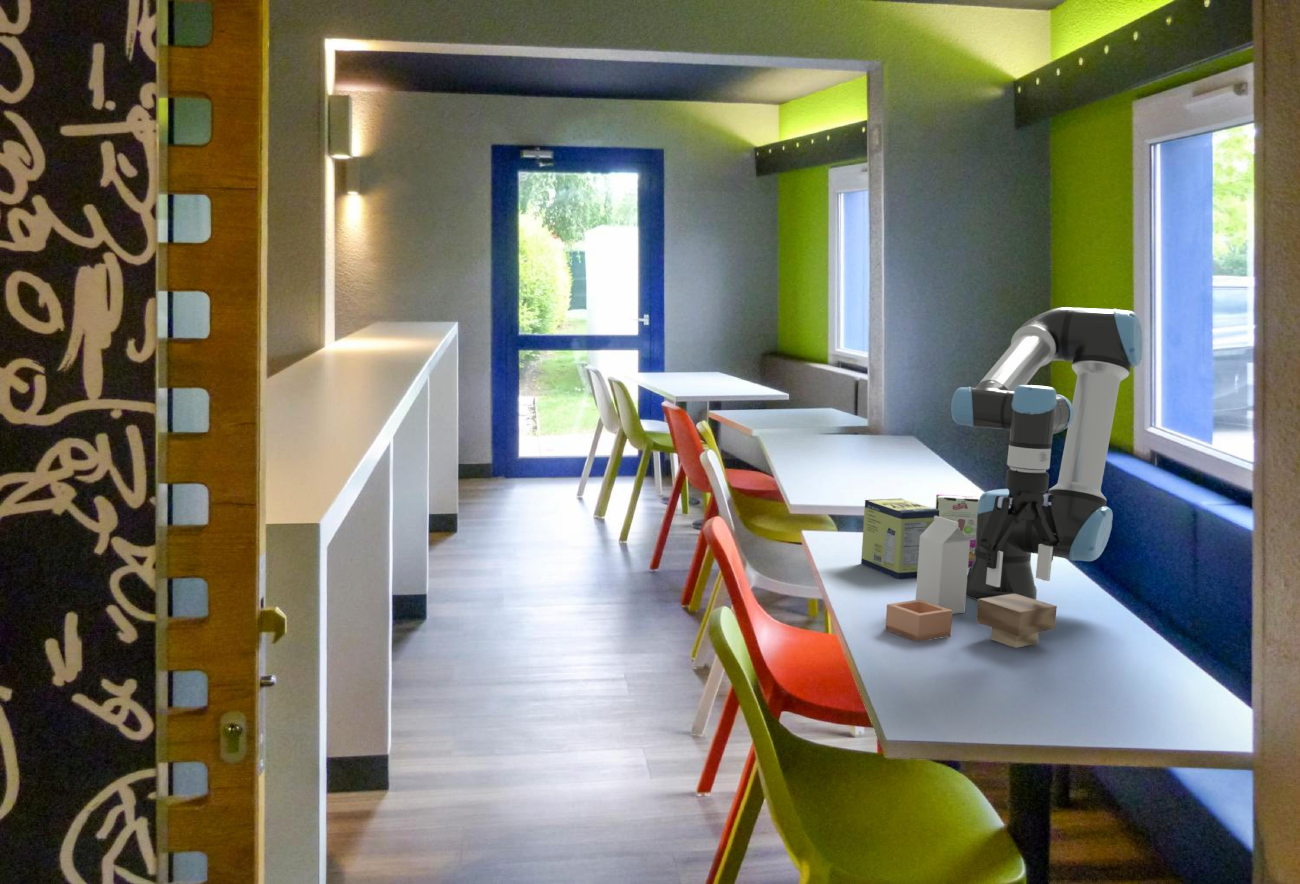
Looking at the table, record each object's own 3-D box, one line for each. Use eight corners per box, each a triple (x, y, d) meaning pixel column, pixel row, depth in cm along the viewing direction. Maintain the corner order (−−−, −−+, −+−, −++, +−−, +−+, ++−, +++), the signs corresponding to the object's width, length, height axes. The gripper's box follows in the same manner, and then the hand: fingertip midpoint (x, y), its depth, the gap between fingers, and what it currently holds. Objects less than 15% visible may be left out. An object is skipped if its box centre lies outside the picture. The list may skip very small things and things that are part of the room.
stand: (1012, 635, 234) (1013, 619, 234) (1037, 643, 229) (1038, 628, 229) (990, 639, 231) (991, 623, 231) (1015, 647, 226) (1016, 632, 226)
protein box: (896, 561, 293) (900, 497, 291) (936, 577, 279) (941, 509, 277) (859, 564, 289) (863, 499, 287) (898, 579, 275) (902, 511, 273)
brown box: (1012, 616, 237) (1014, 593, 236) (1054, 629, 228) (1056, 606, 228) (976, 622, 231) (978, 598, 231) (1018, 636, 223) (1020, 612, 222)
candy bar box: (978, 563, 295) (984, 496, 292) (980, 568, 290) (986, 499, 288) (931, 559, 296) (936, 493, 294) (932, 564, 292) (937, 496, 289)
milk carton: (937, 616, 245) (944, 523, 243) (914, 607, 252) (920, 516, 249) (964, 613, 249) (971, 521, 246) (941, 604, 255) (948, 514, 252)
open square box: (917, 624, 239) (919, 599, 238) (950, 636, 232) (952, 610, 231) (885, 629, 235) (887, 604, 234) (917, 641, 227) (919, 615, 227)
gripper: (997, 475, 216) (987, 592, 219) (1089, 470, 229) (1078, 581, 232) (965, 468, 222) (955, 583, 225) (1056, 464, 236) (1046, 572, 238)
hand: (1018, 582), depth 228 cm, fingers open, 13 cm apart
